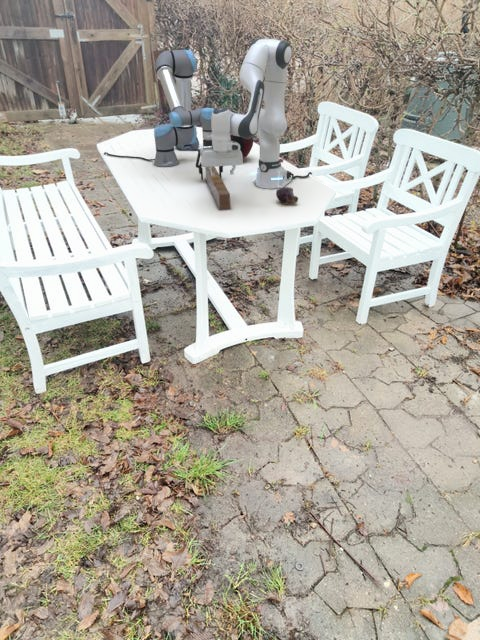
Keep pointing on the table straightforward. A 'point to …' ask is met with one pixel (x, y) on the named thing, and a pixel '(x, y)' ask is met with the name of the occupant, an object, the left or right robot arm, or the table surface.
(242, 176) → the table surface
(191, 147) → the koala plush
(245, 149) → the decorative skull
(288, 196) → the rock
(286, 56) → the right robot arm
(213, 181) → the beam
